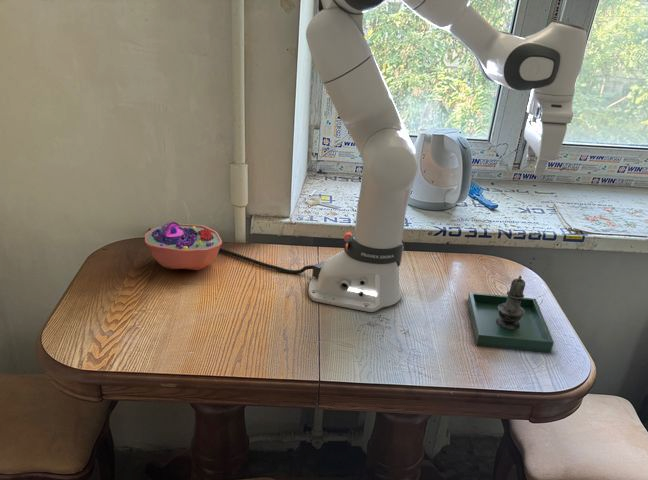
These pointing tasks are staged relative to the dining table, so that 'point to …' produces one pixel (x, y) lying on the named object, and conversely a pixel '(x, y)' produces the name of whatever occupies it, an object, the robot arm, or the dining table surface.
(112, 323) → the dining table surface
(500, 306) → the dark grey chess piece
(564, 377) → the dining table surface
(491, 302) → the tray
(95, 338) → the dining table surface
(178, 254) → the cell model
